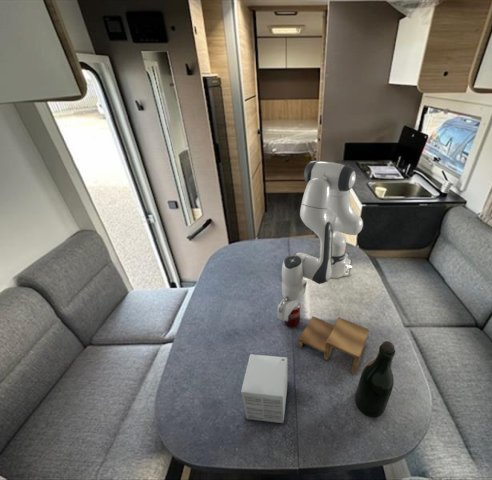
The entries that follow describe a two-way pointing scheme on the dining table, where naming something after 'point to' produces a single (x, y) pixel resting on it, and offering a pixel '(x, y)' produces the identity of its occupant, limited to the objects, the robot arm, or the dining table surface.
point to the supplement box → (265, 388)
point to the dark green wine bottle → (376, 383)
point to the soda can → (294, 317)
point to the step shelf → (335, 338)
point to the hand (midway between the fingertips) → (291, 312)
